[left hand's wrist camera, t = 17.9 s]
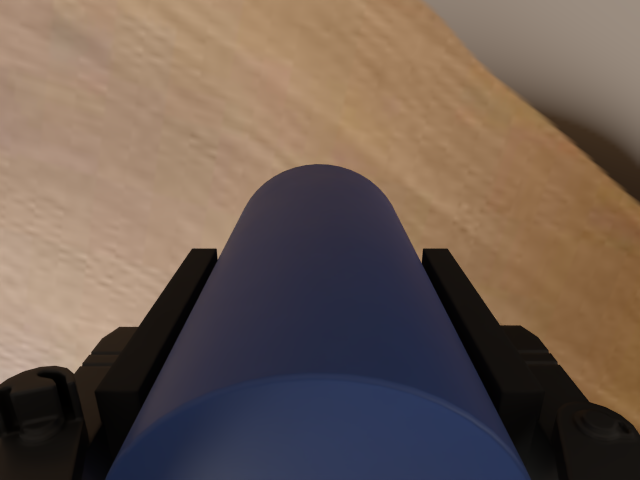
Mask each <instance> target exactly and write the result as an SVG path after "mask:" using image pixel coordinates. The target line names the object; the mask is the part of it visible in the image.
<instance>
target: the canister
mask: <svg viewBox="0 0 640 480" xmlns="http://www.w3.org/2000/svg"><path fill="white" fill-rule="evenodd" d="M105 480H531V478H530V476H529V474H528V472H527V470H526V468H525V466H524V464H523V462H522V460H521V458H520V456H519V454H518V452H517V450H516V448H515V446H514V444H513V442H512V440H511V438H510V436H509V434H508V432H507V430H506V428H505V427H504V425H503V423H502V421H501V419H500V417H499V415H498V413H497V411H496V409H495V407H494V405H493V403H492V401H491V399H490V397H489V395H488V393H487V391H486V389H485V387H484V385H483V383H482V381H481V379H480V377H479V375H478V373H477V371H476V370H475V368H474V366H473V364H472V362H471V360H470V358H469V356H468V354H467V352H466V350H465V348H464V346H463V344H462V342H461V340H460V338H459V336H458V334H457V332H456V330H455V328H454V326H453V324H452V322H451V320H450V318H449V316H448V314H447V313H446V311H445V309H444V307H443V305H442V303H441V301H440V299H439V297H438V295H437V293H436V291H435V289H434V287H433V285H432V283H431V281H430V279H429V277H428V275H427V273H426V271H425V269H424V267H423V265H422V263H421V261H420V259H419V258H418V256H417V254H416V252H415V250H414V248H413V246H412V244H411V242H410V240H409V238H408V236H407V234H406V232H405V230H404V228H403V226H402V224H401V222H400V220H399V218H398V216H397V214H396V212H395V210H394V208H393V206H392V204H391V203H390V202H389V200H388V199H387V197H386V196H385V195H384V193H383V192H382V191H381V190H380V189H379V188H378V187H377V186H376V185H375V184H373V183H372V182H371V181H370V180H368V179H367V178H365V177H363V176H362V175H360V174H358V173H356V172H354V171H352V170H349V169H346V168H342V167H339V166H333V165H323V164H314V165H304V166H300V167H295V168H292V169H290V170H287V171H284V172H282V173H280V174H278V175H276V176H274V177H273V178H271V179H270V180H269V181H267V182H266V183H265V184H263V185H262V186H261V187H260V188H259V189H258V190H257V191H256V192H255V194H254V195H253V196H252V197H251V199H250V200H249V202H248V203H247V205H246V207H245V208H244V210H243V212H242V214H241V216H240V218H239V220H238V222H237V224H236V226H235V228H234V230H233V232H232V234H231V236H230V238H229V239H228V241H227V243H226V245H225V247H224V249H223V251H222V253H221V255H220V257H219V259H218V261H217V263H216V265H215V267H214V269H213V270H212V272H211V274H210V276H209V278H208V280H207V282H206V284H205V286H204V288H203V290H202V292H201V294H200V296H199V298H198V299H197V301H196V303H195V305H194V307H193V309H192V311H191V313H190V315H189V317H188V319H187V321H186V323H185V325H184V327H183V329H182V330H181V332H180V334H179V336H178V338H177V340H176V342H175V344H174V346H173V348H172V350H171V352H170V354H169V356H168V358H167V360H166V361H165V363H164V365H163V367H162V369H161V371H160V373H159V375H158V377H157V379H156V381H155V383H154V385H153V387H152V389H151V391H150V392H149V394H148V396H147V398H146V400H145V402H144V404H143V406H142V408H141V410H140V412H139V414H138V416H137V418H136V420H135V422H134V423H133V425H132V427H131V429H130V431H129V433H128V435H127V437H126V439H125V441H124V443H123V445H122V447H121V449H120V451H119V453H118V454H117V456H116V458H115V460H114V462H113V464H112V466H111V468H110V470H109V472H108V474H107V476H106V479H105Z"/></svg>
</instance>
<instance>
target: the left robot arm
mask: <svg viewBox="0 0 640 480" xmlns="http://www.w3.org/2000/svg"><path fill="white" fill-rule="evenodd" d="M217 261H218V259H217V249H192V250H191V251H190V253H189V254H188V255H187V257H186V258H185V260H184V261H183V263H182V264H181V266H180V267H179V269H178V270H177V272H176V273H175V274H174V276H173V277H172V279H171V280H170V282H169V283H168V285H167V286H166V288H165V289H164V290H163V292H162V293H161V295H160V296H159V298H158V299H157V301H156V302H155V304H154V305H153V307H152V308H151V309H150V311H149V312H148V314H147V315H146V317H145V318H144V320H143V321H142V323H141V324H140V325H139V327H119V328H117V329H116V330H114V331H113V332H111V333H110V334H108V335H107V336H105V337H104V338H102V339H101V341H100V342H99V343H98V344H97V346H96V347H95V348H94V350H93V351H92V352H91V355H89V356H88V357H87V358H86V360H85V361H84V362H83V365H82V366H80V367H79V369H78V370H77V371H76V372H75V374H74V373H72V372H71V371H70V370H69V369H67V368H64V367H59V366H47V367H39V368H35V369H31V370H27V371H24V372H22V373H20V374H17V375H15V376H13V377H11V378H9V379H7V380H6V381H4V382H3V383H1V384H0V480H105V479H106V476H107V474H108V472H109V470H110V468H111V466H112V464H113V462H114V460H115V458H116V456H117V454H118V453H119V451H120V449H121V447H122V445H123V443H124V441H125V439H126V437H127V435H128V433H129V431H130V429H131V427H132V425H133V423H134V422H135V420H136V418H137V416H138V414H139V412H140V410H141V408H142V406H143V404H144V402H145V400H146V398H147V396H148V394H149V392H150V391H151V389H152V387H153V385H154V383H155V381H156V379H157V377H158V375H159V373H160V371H161V369H162V367H163V365H164V363H165V361H166V360H167V358H168V356H169V354H170V352H171V350H172V348H173V346H174V344H175V342H176V340H177V338H178V336H179V334H180V332H181V330H182V329H183V327H184V325H185V323H186V321H187V319H188V317H189V315H190V313H191V311H192V309H193V307H194V305H195V303H196V301H197V299H198V298H199V296H200V294H201V292H202V290H203V288H204V286H205V284H206V282H207V280H208V278H209V276H210V274H211V272H212V270H213V269H214V267H215V265H216V263H217ZM422 265H423V267H424V269H425V271H426V273H427V275H428V277H429V279H430V281H431V283H432V285H433V287H434V289H435V291H436V293H437V295H438V297H439V299H440V301H441V303H442V305H443V307H444V309H445V311H446V313H447V314H448V316H449V318H450V320H451V322H452V324H453V326H454V328H455V330H456V332H457V334H458V336H459V338H460V340H461V342H462V344H463V346H464V348H465V350H466V352H467V354H468V356H469V358H470V360H471V362H472V364H473V366H474V368H475V370H476V371H477V373H478V375H479V377H480V379H481V381H482V383H483V385H484V387H485V389H486V391H487V393H488V395H489V397H490V399H491V401H492V403H493V405H494V407H495V409H496V411H497V413H498V415H499V417H500V419H501V421H502V423H503V425H504V427H505V428H506V430H507V432H508V434H509V436H510V438H511V440H512V442H513V444H514V446H515V448H516V450H517V452H518V454H519V456H520V458H521V460H522V462H523V464H524V466H525V468H526V470H527V472H528V474H529V476H530V478H531V480H640V434H639V433H638V432H637V430H636V429H635V427H634V426H633V425H632V424H631V423H630V422H629V421H627V420H626V419H625V418H624V417H622V416H621V415H620V414H618V413H616V412H614V411H612V410H610V409H608V408H606V407H603V406H600V405H597V404H594V403H590V402H589V401H588V400H587V398H586V397H585V396H584V395H583V393H582V392H581V391H580V390H579V388H578V387H577V386H576V385H575V383H574V382H573V381H572V380H571V378H570V377H569V376H568V375H567V373H566V372H565V371H564V369H563V368H562V367H561V366H560V365H558V364H557V361H556V359H555V358H554V357H553V356H552V354H551V353H549V352H548V349H547V348H546V347H545V346H544V344H543V343H542V342H541V341H540V339H539V338H538V337H537V336H535V335H534V334H532V333H531V332H529V331H528V330H526V329H525V328H523V327H522V326H500V325H499V323H498V322H497V320H496V319H495V317H494V316H493V314H492V313H491V311H490V310H489V309H488V307H487V306H486V304H485V303H484V301H483V300H482V298H481V297H480V295H479V294H478V292H477V291H476V290H475V288H474V287H473V285H472V284H471V282H470V281H469V279H468V278H467V276H466V275H465V274H464V272H463V271H462V269H461V268H460V266H459V265H458V263H457V262H456V260H455V259H454V257H453V256H452V255H451V253H450V252H449V250H448V249H423V255H422Z"/></svg>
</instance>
